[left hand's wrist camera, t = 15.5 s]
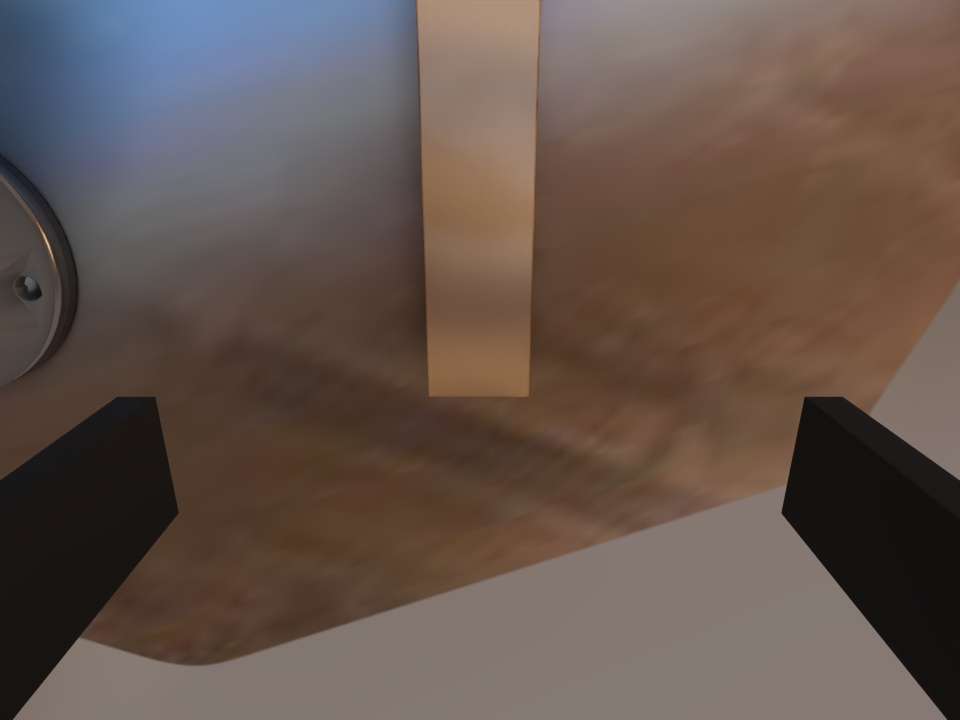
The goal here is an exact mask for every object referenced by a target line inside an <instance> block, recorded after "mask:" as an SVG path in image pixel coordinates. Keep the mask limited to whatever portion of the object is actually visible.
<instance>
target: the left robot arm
mask: <svg viewBox="0 0 960 720" xmlns="http://www.w3.org/2000/svg"><path fill="white" fill-rule="evenodd" d="M75 305H76V277H75V269H74V264H73V260H72V256H71V252H70V249H69V246H68V243H67V241H66V238H65V236H64V234H63V231H62V229H61V227H60V225H59V223H58V221H57V219H56V218H55V216H54V214H53V213H52V211H51V210H50V208H49V206H48V205H47V203H46V202H45V201H44V199H43V198H42V197H41V195H40V194H39V193H38V191H37V190H36V189H35V188H34V187H33V186H32V184H31V183H30V182H29V181H28V180H27V179H26V178H25V177H24V176H23V175H22V174H21V173H20V172H19V171H18V170H17V169H16V168H15V167H13V166H12V165H11V164H10V163H9V162H8V161H6V160H5V159H4V158H3V157H1V156H0V387H2V386H4V385H6V384H8V383H10V382H12V381H14V380H16V379H18V378H20V377H22V376H24V375H26V374H27V373H29V372H31V371H33V370H35V369H36V368H38V367H39V366H40V365H42V364H43V363H44V362H46V361H47V360H48V359H49V358H50V357H51V356H52V355H53V354H54V353H55V351H56V350H57V349H58V348H59V346H60V345H61V343H62V342H63V340H64V339H65V337H66V335H67V332H68V330H69V328H70V325H71V322H72V319H73V315H74V310H75ZM177 515H178V508H177V503H176V498H175V493H174V488H173V483H172V478H171V473H170V468H169V463H168V458H167V453H166V448H165V443H164V438H163V433H162V428H161V423H160V418H159V413H158V408H157V403H156V398H155V397H117V398H115V399H114V400H112V401H111V402H110V403H108V404H107V405H105V406H104V407H103V408H101V409H100V410H98V411H97V412H96V413H94V414H93V415H91V416H90V417H88V418H87V419H86V420H84V421H83V422H81V423H80V424H79V425H77V426H76V427H74V428H73V429H72V430H70V431H69V432H67V433H66V434H65V435H63V436H62V437H60V438H59V439H58V440H56V441H55V442H53V443H52V444H51V445H49V446H48V447H46V448H45V449H44V450H42V451H41V452H39V453H38V454H37V455H35V456H34V457H32V458H31V459H30V460H28V461H27V462H25V463H24V464H23V465H21V466H20V467H18V468H17V469H16V470H14V471H13V472H11V473H10V474H9V475H7V476H6V477H4V478H3V479H2V480H0V720H13V719H14V717H15V716H16V715H17V714H18V712H19V711H20V710H21V709H22V707H23V706H24V705H25V704H26V702H27V701H28V700H29V699H30V697H31V696H32V695H33V694H34V692H35V691H36V690H37V689H38V688H39V686H40V685H41V684H42V683H43V681H44V680H45V679H46V678H47V676H48V675H49V674H50V673H51V671H52V670H53V669H54V668H55V666H56V665H57V664H58V663H59V661H60V660H61V659H62V658H63V656H64V655H65V654H66V653H67V651H68V650H69V649H70V648H71V646H72V645H73V644H74V643H75V641H76V640H77V639H78V638H79V636H80V635H81V634H82V633H83V632H84V630H85V629H86V628H87V627H88V625H89V624H90V623H91V622H92V620H93V619H94V618H95V617H96V615H97V614H98V613H99V612H100V610H101V609H102V608H103V607H104V605H105V604H106V603H107V602H108V600H109V599H110V598H111V597H112V595H113V594H114V593H115V592H116V590H117V589H118V588H119V587H120V585H121V584H122V583H123V582H124V580H125V579H126V578H127V577H128V576H129V574H130V573H131V572H132V571H133V569H134V568H135V567H136V566H137V564H138V563H139V562H140V561H141V559H142V558H143V557H144V556H145V554H146V553H147V552H148V551H149V549H150V548H151V547H152V546H153V544H154V543H155V542H156V541H157V539H158V538H159V537H160V536H161V534H162V533H163V532H164V531H165V529H166V528H167V527H168V526H169V524H170V523H171V522H172V521H173V520H174V518H175V517H176V516H177ZM782 515H783V516H784V517H785V518H786V520H787V521H788V522H789V523H790V524H791V526H792V527H793V528H794V529H795V531H796V532H797V533H798V534H799V536H800V537H801V538H802V539H803V541H804V542H805V543H806V544H807V546H808V547H809V548H810V549H811V551H812V552H813V553H814V554H815V555H816V557H817V558H818V559H819V561H820V562H821V563H822V564H823V566H824V567H825V568H826V569H827V571H828V572H829V573H830V574H831V576H832V577H833V578H834V579H835V580H836V582H837V583H838V584H839V585H840V587H841V588H842V589H843V590H844V592H845V593H846V594H847V595H848V597H849V598H850V599H851V600H852V602H853V603H854V604H855V605H856V607H857V608H858V609H859V610H860V611H861V613H862V614H863V615H864V617H865V618H866V619H867V620H868V621H869V623H870V624H871V625H872V627H873V628H874V629H875V630H876V631H877V633H878V634H879V635H880V636H881V638H882V639H883V640H884V641H885V643H886V644H887V645H888V646H889V648H890V649H891V650H892V651H893V653H894V654H895V655H896V656H897V658H898V659H899V660H900V661H901V663H902V664H903V665H904V666H905V668H906V669H907V670H908V671H909V673H910V674H911V675H912V676H913V678H914V679H915V680H916V681H917V683H918V684H919V685H920V686H921V688H922V689H923V690H924V691H925V692H926V694H927V695H928V696H929V697H930V699H931V700H932V701H933V702H934V704H935V705H936V706H937V707H938V709H939V710H940V711H941V712H942V714H943V715H944V716H945V717H946V719H947V720H960V480H958V479H957V478H956V477H954V476H953V475H951V474H950V473H949V472H947V471H946V470H944V469H943V468H941V467H940V466H939V465H937V464H936V463H935V462H933V461H932V460H930V459H929V458H928V457H926V456H925V455H923V454H922V453H920V452H919V451H918V450H916V449H915V448H914V447H912V446H911V445H909V444H908V443H906V442H905V441H904V440H902V439H901V438H900V437H898V436H897V435H895V434H894V433H893V432H891V431H890V430H888V429H887V428H886V427H884V426H883V425H881V424H880V423H878V422H877V421H876V420H874V419H873V418H872V417H870V416H869V415H867V414H866V413H864V412H863V411H862V410H860V409H859V408H857V407H856V406H855V405H853V404H852V403H850V402H849V401H848V400H846V399H845V398H843V397H805V398H804V403H803V408H802V413H801V418H800V423H799V428H798V433H797V438H796V443H795V448H794V453H793V458H792V463H791V468H790V473H789V478H788V483H787V488H786V493H785V498H784V503H783V508H782Z"/></svg>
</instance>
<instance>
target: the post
mask: <svg viewBox="0 0 960 720" xmlns="http://www.w3.org/2000/svg"><path fill="white" fill-rule="evenodd" d="M540 10H541V0H416V22H417V53H418V84H419V116H420V147H421V179H422V210H423V241H424V273H425V304H426V336H427V367H428V395H429V397H528V396H529V375H530V342H531V309H532V276H533V242H534V209H535V176H536V143H537V110H538V77H539V43H540Z"/></svg>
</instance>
